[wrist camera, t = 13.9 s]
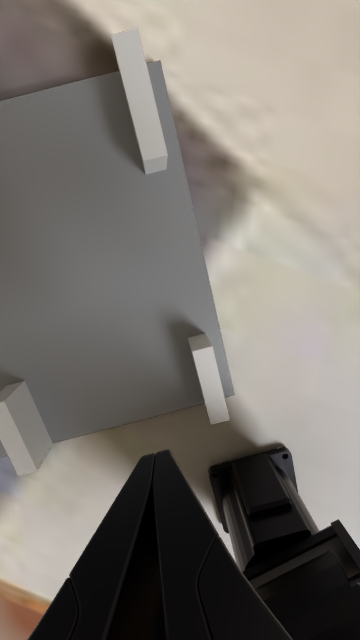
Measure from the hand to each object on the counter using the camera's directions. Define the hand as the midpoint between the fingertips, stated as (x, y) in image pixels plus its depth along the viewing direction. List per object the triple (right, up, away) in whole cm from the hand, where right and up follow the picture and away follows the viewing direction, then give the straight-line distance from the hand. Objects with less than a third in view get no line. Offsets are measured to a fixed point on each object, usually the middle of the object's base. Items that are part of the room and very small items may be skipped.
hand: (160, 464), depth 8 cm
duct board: (-11, +5, +9) cm, 15 cm away
